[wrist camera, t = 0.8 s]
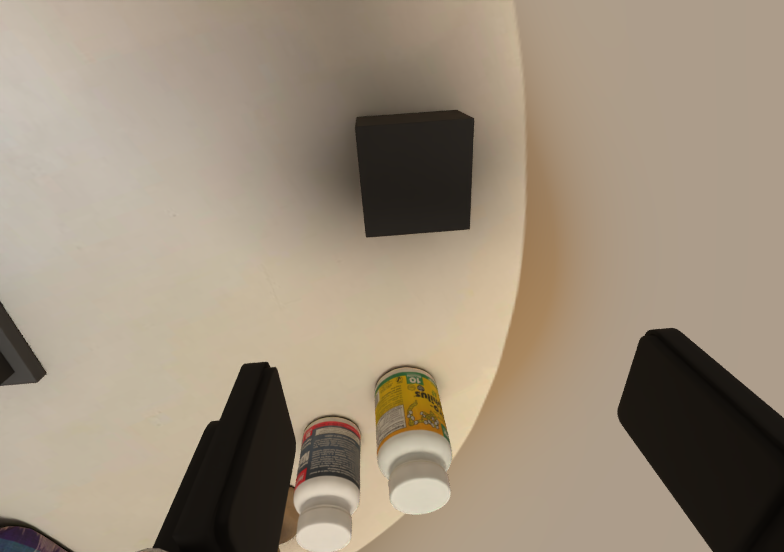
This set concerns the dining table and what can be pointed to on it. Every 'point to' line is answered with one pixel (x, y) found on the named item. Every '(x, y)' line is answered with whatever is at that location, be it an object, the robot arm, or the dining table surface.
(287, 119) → the dining table surface
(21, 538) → the handbag
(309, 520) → the pill bottle
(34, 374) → the base mat
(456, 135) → the pad
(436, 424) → the supplement bottle
